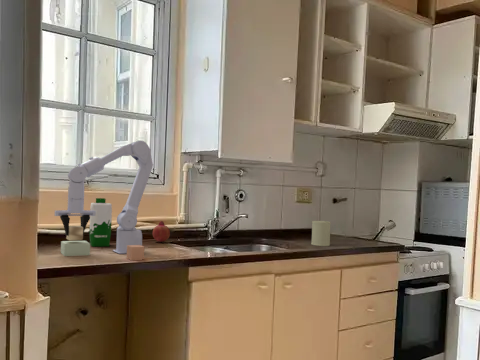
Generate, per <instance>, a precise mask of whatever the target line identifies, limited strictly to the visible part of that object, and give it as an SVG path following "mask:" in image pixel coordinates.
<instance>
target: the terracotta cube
mask: <svg viewBox="0 0 480 360" xmlns="http://www.w3.org/2000/svg"><path fill="white" fill-rule="evenodd" d="M145 247H146V246H144V245H142V246H141V245H127V253H126V259H127V260H129V259H130V261H131V260H132V261H143V260H142V259H144V260H145Z"/></svg>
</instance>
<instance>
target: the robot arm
mask: <svg viewBox="0 0 480 360" xmlns="http://www.w3.org/2000/svg"><path fill="white" fill-rule="evenodd" d="M129 156H131V157H132V158H133V159H134V160H135V162H136V164H137V165H138V169H137V172H136V175H135V178H134V181H133V184H132V186H131V189H130V191H129V194H128V197H127V200H126V202H125V205H124V206H123V207H122V210H121V212H119V214H118V215H117V217H116V223H117V224H118V226H117V228H116V243H115V245H116V246H115V247H116V248H115V249H112V252H115V253H116V254H127V245H141V246H143V233H142V232H143V231H142V230H141V229H137V224H138V217H137V216H138V213H139V206H140V203H141V201H142V198H143V195H144V192H145V189H146V186H147V183H148V181H149V178H150V176H151V173H152V170H153V165H154V163H153V160H152V159H153V158H152V155H151V148H150V146H149V145H148V143H147V142H146V141H144V140H137V141H133V142H131V143H128V144H124V145H122V146H120V147H118V148H115V149H114V150H113V151H111V152H109V153H107V154H105V155H103V156H101V157H98V156H94V157H93V156H90V157H89V158H88V159H89V160H86V161H85V162H83V163H78V164H77V166H74V167H73V168H71V169H70V170H69V171H68V174H67V177H68V179H69V181H68V185H69V186H68V190H67V210H65V209H64V210H63V209H62V210H54V217H60V220H61V222H62V224H63V225H62V226H63V228H64V234H65V236H68V235H69V226H70V222H71V221H70V220H71V218H70V217H74V216H75V217H76V216H77V217H79V218H80V226H81V227H83V236H84V234H85V230H86V227H87V225H88V223H89V222H90V216H95V214H96V211H90V210H88V209H87V210H85V209H84V208H85V180H86V179H87V178H90V177H92V176H94V175H96V174H98V173H99V172H102V171H104V168H105V167H106V165H107V164H109V163H111V162H114V161H115V160H117V159H119V158H122V157H129Z"/></svg>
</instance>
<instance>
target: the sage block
mask: <svg viewBox="0 0 480 360" xmlns="http://www.w3.org/2000/svg"><path fill="white" fill-rule="evenodd" d="M60 253H61V255H63V256H64V257H72V256H73V257H75V256H77V257H78V256H91V245H90V242H88V241H87V240H71V241H69V240H62V241H60Z"/></svg>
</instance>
